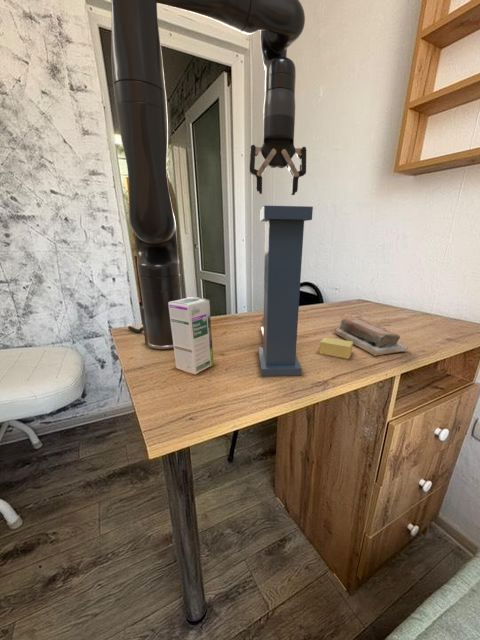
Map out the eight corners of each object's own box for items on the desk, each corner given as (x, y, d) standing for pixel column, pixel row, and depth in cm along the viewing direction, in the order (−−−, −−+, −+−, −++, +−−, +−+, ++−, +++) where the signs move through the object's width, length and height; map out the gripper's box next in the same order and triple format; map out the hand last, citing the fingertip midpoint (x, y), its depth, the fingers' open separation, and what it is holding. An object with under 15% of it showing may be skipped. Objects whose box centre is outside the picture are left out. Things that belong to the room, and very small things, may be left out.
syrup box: (195, 375, 59) (189, 304, 54) (174, 368, 62) (167, 300, 56) (214, 365, 63) (210, 299, 58) (194, 359, 66) (189, 295, 61)
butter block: (319, 353, 71) (320, 341, 70) (323, 348, 74) (324, 336, 73) (348, 359, 68) (350, 347, 67) (351, 353, 71) (353, 341, 70)
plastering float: (334, 317, 83) (364, 314, 86) (332, 333, 85) (361, 330, 88) (377, 337, 67) (411, 333, 70) (374, 357, 69) (407, 352, 72)
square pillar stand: (261, 376, 59) (264, 205, 48) (258, 353, 70) (259, 210, 59) (300, 375, 60) (313, 206, 48) (291, 352, 71) (299, 211, 59)
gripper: (249, 111, 66) (249, 192, 72) (311, 113, 67) (306, 193, 73) (248, 122, 73) (249, 195, 79) (305, 124, 74) (301, 196, 80)
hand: (276, 194), depth 76 cm, fingers open, 8 cm apart
